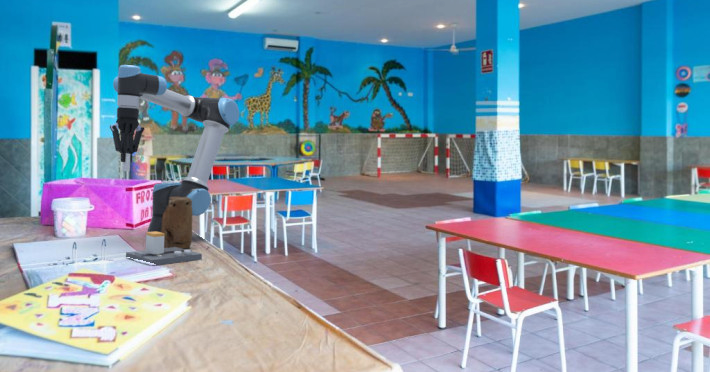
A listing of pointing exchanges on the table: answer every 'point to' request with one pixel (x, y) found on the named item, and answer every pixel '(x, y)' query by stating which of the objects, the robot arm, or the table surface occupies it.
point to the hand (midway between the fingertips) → (125, 170)
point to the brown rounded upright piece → (177, 223)
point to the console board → (166, 256)
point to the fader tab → (155, 242)
